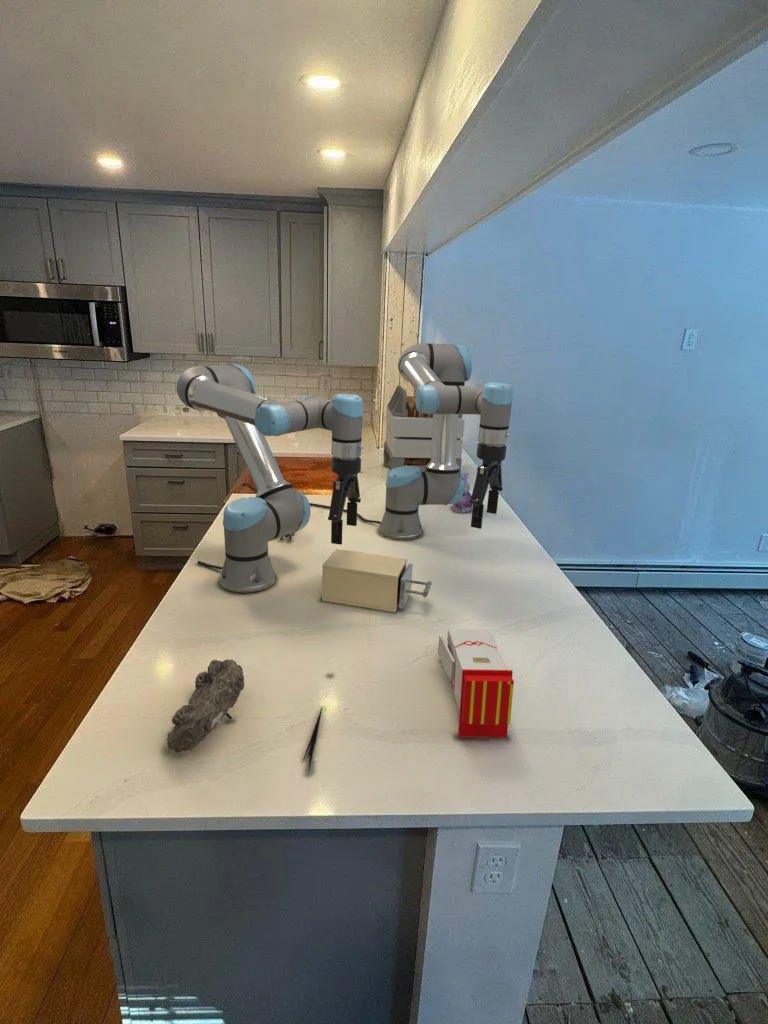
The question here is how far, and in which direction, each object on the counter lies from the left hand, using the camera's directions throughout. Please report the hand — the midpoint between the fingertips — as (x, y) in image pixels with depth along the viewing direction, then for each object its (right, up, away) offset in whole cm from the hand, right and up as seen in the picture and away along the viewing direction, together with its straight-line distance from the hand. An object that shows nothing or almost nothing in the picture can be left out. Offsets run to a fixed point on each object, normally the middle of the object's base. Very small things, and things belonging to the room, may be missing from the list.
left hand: (344, 534), depth 151 cm
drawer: (+11, -17, +3) cm, 20 cm away
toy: (+28, -32, -33) cm, 54 cm away
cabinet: (+5, -17, +4) cm, 19 cm away
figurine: (+42, +7, +76) cm, 87 cm away
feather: (-2, -34, -43) cm, 54 cm away
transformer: (+28, +25, +124) cm, 129 cm away
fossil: (-22, -33, -43) cm, 59 cm away
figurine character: (-22, -2, +43) cm, 49 cm away
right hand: (+38, +4, +4) cm, 38 cm away
